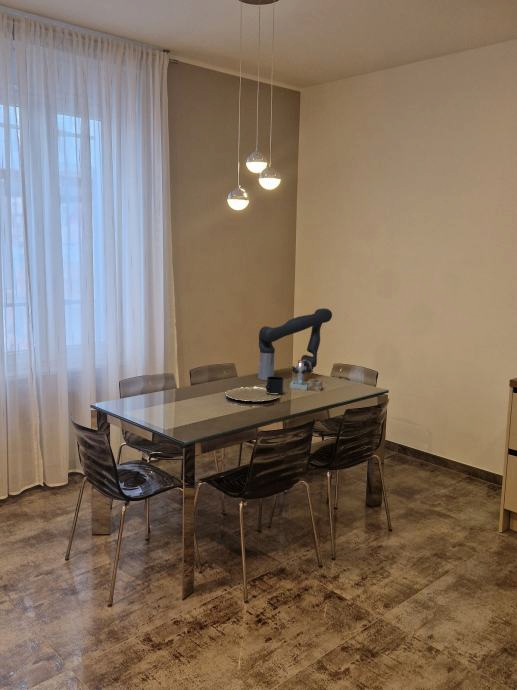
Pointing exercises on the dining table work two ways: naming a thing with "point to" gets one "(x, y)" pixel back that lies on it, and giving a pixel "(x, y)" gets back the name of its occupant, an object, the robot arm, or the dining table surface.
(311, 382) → the block
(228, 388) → the dining table surface
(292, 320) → the robot arm
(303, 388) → the tray
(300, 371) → the cylinder
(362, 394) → the dining table surface
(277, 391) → the mug
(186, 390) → the dining table surface
